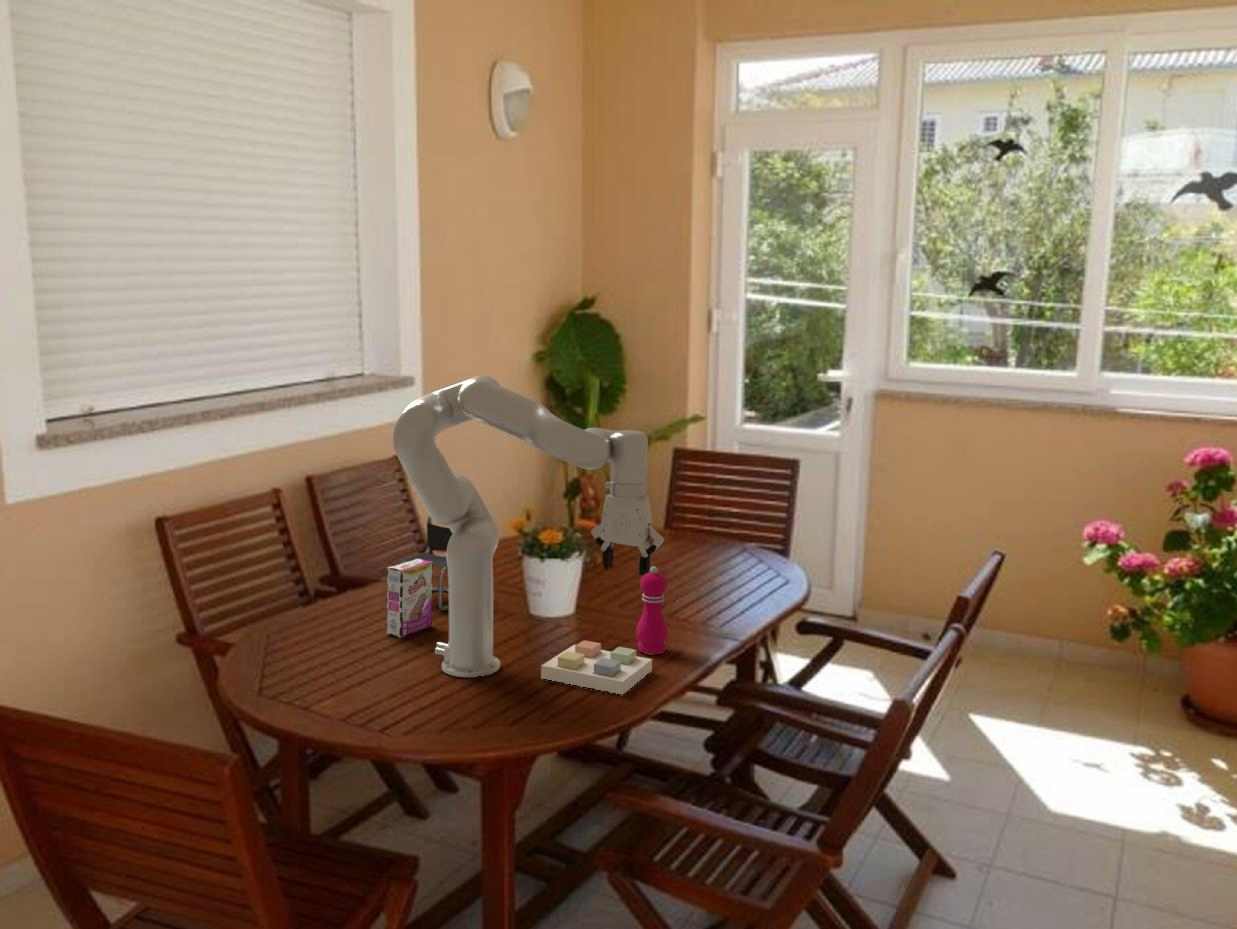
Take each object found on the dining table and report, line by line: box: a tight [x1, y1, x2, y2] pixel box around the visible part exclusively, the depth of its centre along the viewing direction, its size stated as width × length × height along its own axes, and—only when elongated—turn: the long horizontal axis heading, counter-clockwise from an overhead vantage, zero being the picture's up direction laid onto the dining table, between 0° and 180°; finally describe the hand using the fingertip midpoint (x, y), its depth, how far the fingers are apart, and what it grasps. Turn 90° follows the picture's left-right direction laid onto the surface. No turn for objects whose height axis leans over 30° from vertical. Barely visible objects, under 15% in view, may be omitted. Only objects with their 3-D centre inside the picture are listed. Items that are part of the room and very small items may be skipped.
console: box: [540, 644, 653, 696], centre depth 231 cm, size 19×15×3 cm
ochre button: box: [558, 651, 585, 670], centre depth 229 cm, size 4×4×2 cm
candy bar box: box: [386, 559, 434, 639], centre depth 256 cm, size 11×5×16 cm, turn 149°
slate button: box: [594, 658, 621, 677], centre depth 225 cm, size 4×4×2 cm
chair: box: [400, 515, 452, 612], centre depth 280 cm, size 13×17×22 cm
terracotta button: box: [575, 640, 602, 659], centre depth 236 cm, size 4×4×2 cm
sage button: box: [610, 646, 637, 665], centre depth 233 cm, size 4×4×2 cm
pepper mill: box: [635, 566, 669, 653], centre depth 246 cm, size 7×7×20 cm
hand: (625, 570), depth 229 cm, fingers open, 7 cm apart
